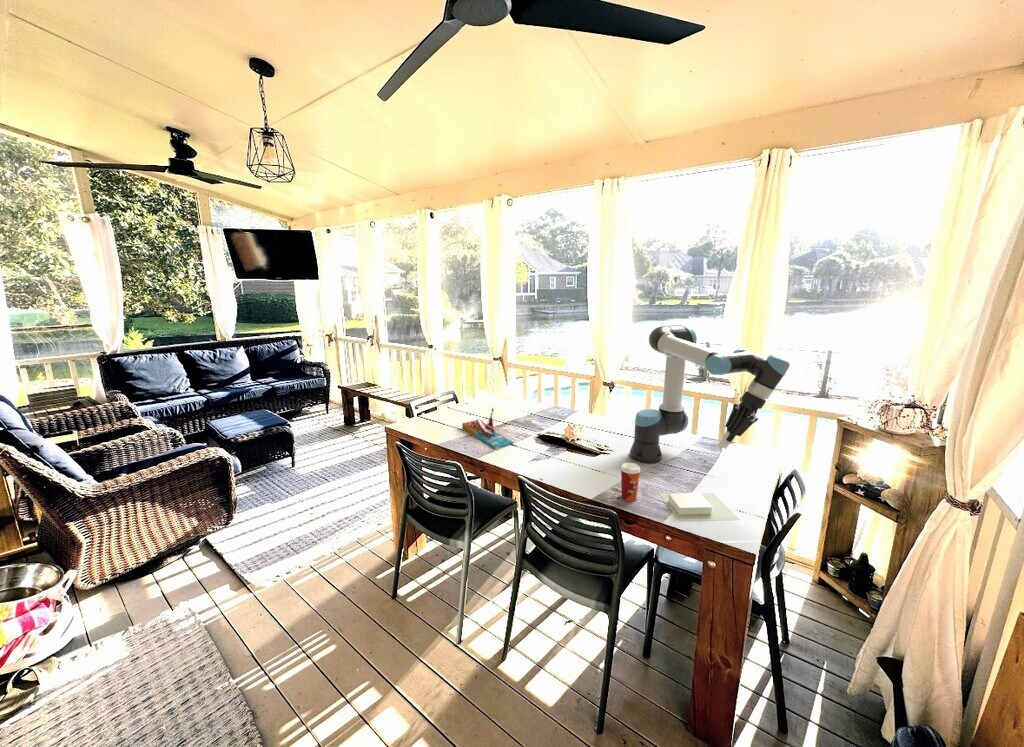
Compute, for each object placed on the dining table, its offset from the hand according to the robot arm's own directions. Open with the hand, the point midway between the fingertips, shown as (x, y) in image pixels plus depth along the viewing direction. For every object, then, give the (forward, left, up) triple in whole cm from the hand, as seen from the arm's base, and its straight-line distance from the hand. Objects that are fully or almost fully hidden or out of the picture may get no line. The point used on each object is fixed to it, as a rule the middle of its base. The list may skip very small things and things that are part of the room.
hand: (722, 446), depth 156 cm
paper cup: (-1, -35, -22) cm, 42 cm away
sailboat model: (-71, -96, -23) cm, 121 cm away
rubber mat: (+7, -11, -22) cm, 26 cm away
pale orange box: (+8, -9, -20) cm, 23 cm away
